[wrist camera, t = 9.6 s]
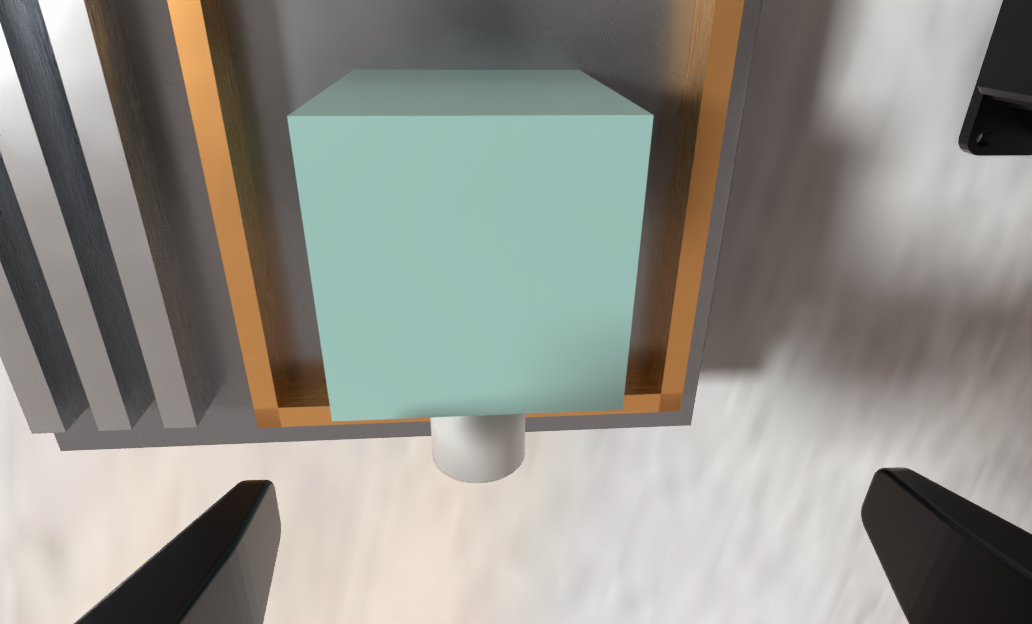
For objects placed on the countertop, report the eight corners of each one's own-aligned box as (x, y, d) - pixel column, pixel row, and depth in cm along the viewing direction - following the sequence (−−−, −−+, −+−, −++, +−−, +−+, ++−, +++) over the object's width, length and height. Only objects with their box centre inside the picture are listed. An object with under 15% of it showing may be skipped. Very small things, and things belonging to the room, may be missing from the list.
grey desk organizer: (719, -159, 16) (828, -223, 11) (653, 357, 22) (704, 450, 18) (-47, -185, 14) (-286, -270, 10) (128, 374, 21) (34, 480, 16)
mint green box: (580, 69, 14) (654, 115, 9) (564, 354, 17) (612, 513, 12) (354, 69, 14) (286, 116, 8) (382, 360, 17) (348, 526, 12)
